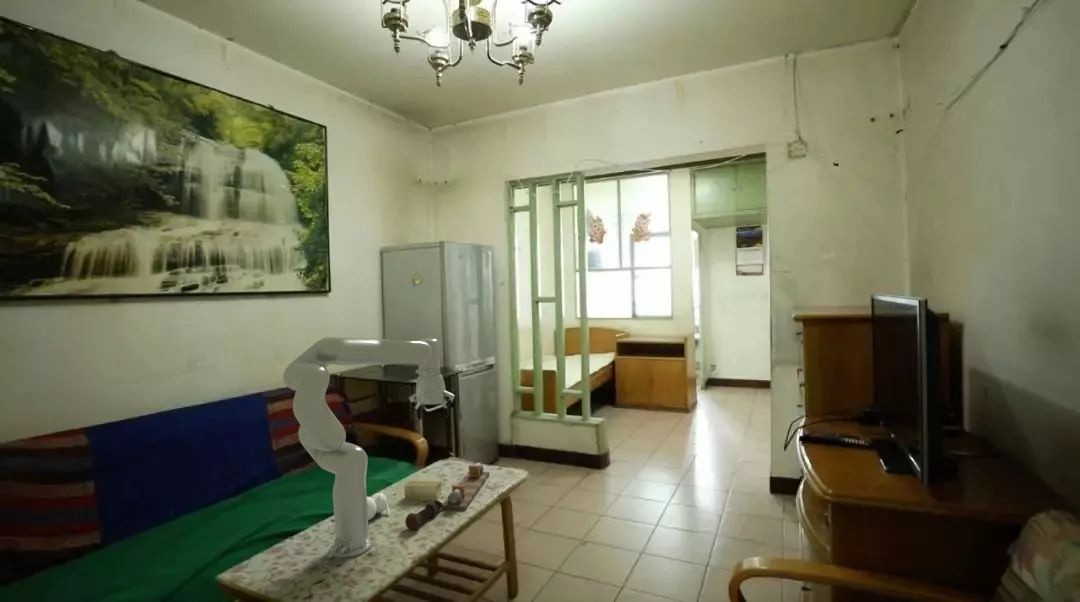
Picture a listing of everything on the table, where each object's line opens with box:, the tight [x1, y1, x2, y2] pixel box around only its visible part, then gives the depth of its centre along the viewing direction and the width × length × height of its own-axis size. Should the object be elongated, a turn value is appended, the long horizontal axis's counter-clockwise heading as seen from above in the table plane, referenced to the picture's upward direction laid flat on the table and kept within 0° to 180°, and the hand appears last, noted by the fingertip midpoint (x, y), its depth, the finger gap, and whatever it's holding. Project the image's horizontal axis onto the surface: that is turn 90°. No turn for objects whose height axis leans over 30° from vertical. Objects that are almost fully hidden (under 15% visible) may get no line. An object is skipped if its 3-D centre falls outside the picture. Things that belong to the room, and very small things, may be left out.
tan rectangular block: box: [403, 480, 443, 501], centre depth 171 cm, size 4×13×6 cm, turn 80°
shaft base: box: [441, 462, 490, 511], centre depth 175 cm, size 30×9×6 cm, turn 171°
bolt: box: [404, 500, 443, 532], centre depth 154 cm, size 6×5×15 cm
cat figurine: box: [367, 490, 391, 521], centre depth 157 cm, size 9×11×12 cm
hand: (433, 418), depth 165 cm, fingers open, 9 cm apart
